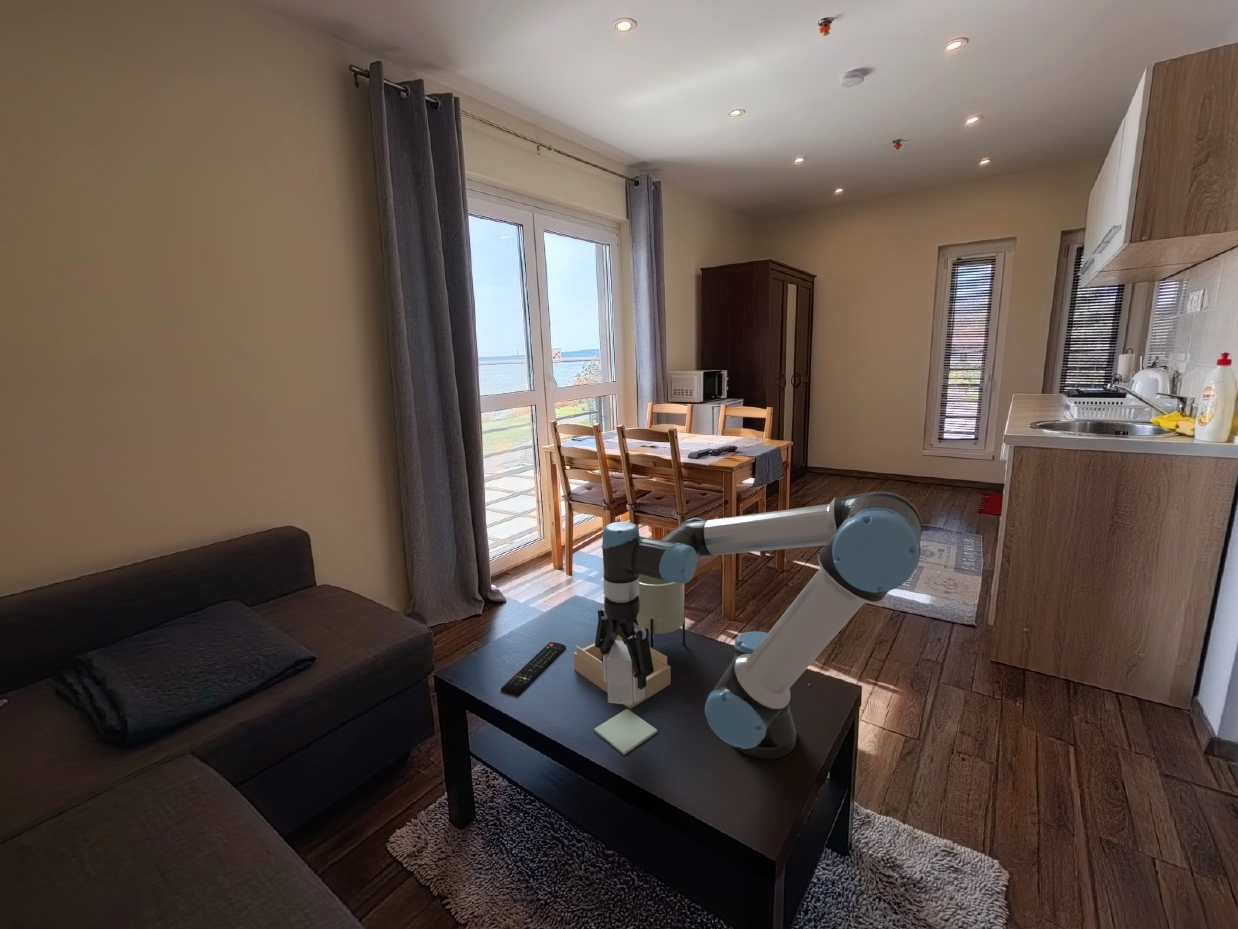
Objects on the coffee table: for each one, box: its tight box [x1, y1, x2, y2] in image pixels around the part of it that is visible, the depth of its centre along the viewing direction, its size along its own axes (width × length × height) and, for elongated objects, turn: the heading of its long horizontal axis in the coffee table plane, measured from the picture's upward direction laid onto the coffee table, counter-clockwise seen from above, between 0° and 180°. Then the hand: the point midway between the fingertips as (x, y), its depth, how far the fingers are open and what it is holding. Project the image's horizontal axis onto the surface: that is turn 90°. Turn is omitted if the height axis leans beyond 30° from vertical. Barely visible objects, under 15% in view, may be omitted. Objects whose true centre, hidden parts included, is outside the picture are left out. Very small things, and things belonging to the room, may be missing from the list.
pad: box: [593, 708, 658, 756], centre depth 122 cm, size 10×10×1 cm
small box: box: [607, 640, 635, 705], centre depth 119 cm, size 8×6×10 cm
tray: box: [573, 635, 672, 710], centre depth 141 cm, size 22×14×7 cm, turn 41°
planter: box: [637, 575, 686, 649], centre depth 152 cm, size 15×16×23 cm
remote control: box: [500, 641, 567, 697], centre depth 147 cm, size 5×24×1 cm, turn 155°
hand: (623, 689), depth 120 cm, fingers closed on small box, 9 cm apart
